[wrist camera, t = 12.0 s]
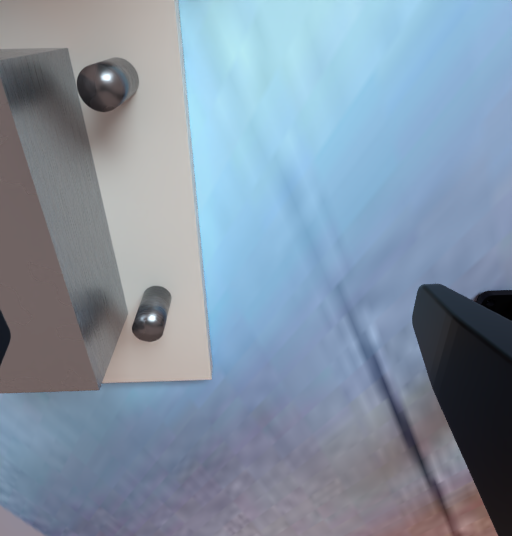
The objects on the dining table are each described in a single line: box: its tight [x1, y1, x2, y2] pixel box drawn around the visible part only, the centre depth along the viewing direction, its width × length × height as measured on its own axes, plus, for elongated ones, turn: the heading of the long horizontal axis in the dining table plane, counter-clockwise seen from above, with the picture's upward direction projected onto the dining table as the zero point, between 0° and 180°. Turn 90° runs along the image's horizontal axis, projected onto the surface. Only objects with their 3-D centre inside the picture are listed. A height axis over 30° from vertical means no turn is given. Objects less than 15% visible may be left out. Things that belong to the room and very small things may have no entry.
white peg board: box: [0, 0, 213, 383], centre depth 17 cm, size 22×14×4 cm, turn 1°
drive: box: [0, 48, 128, 393], centre depth 15 cm, size 12×6×5 cm, turn 1°
